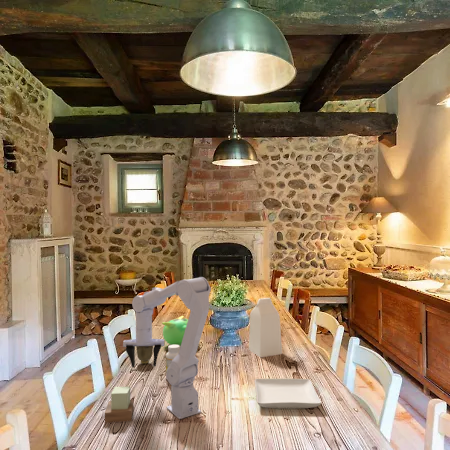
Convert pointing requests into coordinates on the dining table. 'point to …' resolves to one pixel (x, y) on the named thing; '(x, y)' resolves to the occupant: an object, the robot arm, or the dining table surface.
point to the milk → (265, 329)
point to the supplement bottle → (171, 354)
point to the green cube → (120, 398)
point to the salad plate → (286, 393)
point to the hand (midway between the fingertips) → (144, 366)
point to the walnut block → (119, 413)
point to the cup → (144, 353)
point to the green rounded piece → (175, 330)
